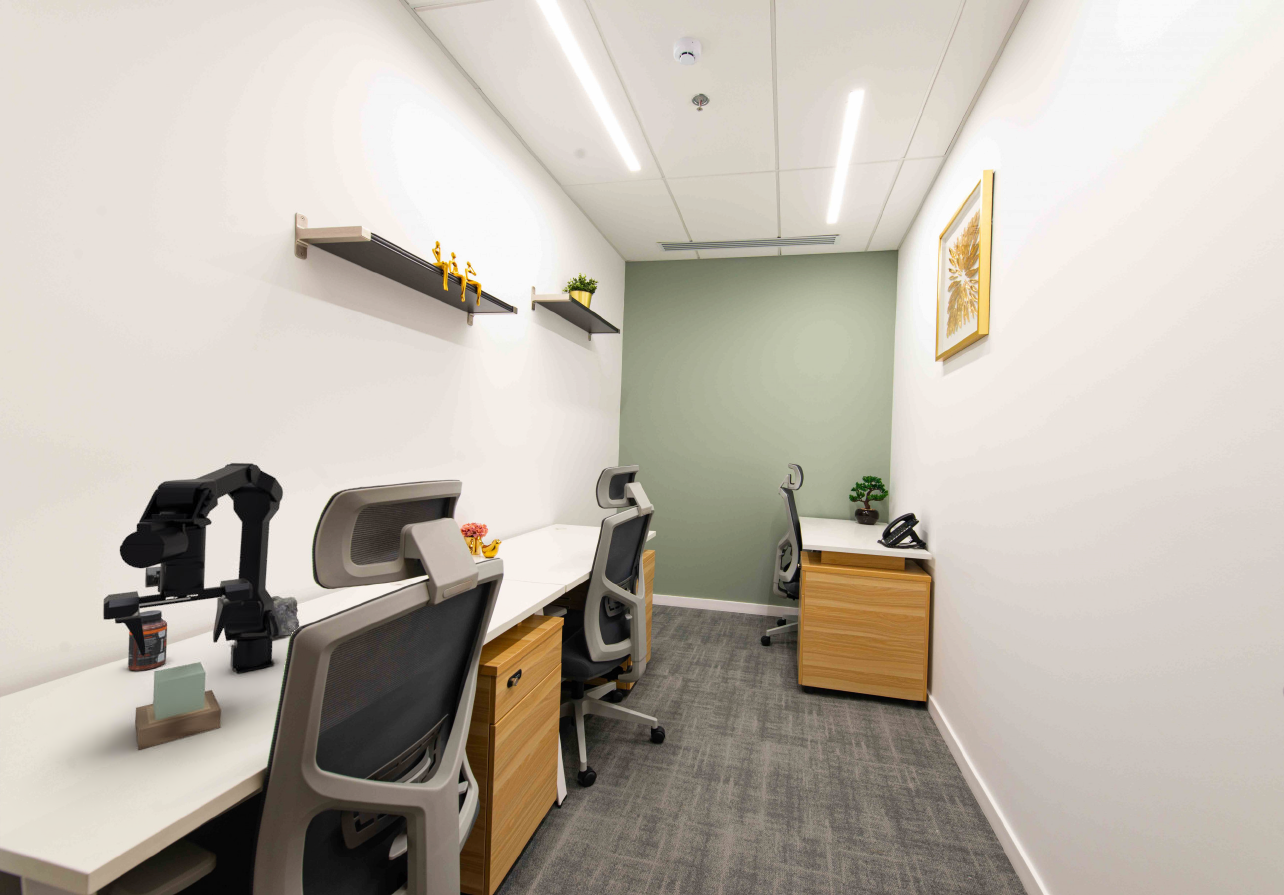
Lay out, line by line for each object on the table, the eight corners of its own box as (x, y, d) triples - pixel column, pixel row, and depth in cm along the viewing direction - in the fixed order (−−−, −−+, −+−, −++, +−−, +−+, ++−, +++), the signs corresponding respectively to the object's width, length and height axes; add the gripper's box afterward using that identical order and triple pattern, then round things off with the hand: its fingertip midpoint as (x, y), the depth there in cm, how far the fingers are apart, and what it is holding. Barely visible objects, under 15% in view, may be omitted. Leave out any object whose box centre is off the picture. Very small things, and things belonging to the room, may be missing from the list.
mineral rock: (229, 648, 125) (230, 604, 125) (241, 633, 134) (242, 593, 135) (294, 641, 130) (295, 599, 130) (301, 627, 140) (302, 589, 140)
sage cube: (199, 696, 94) (200, 661, 94) (204, 708, 90) (205, 672, 90) (153, 707, 90) (154, 671, 90) (155, 720, 85) (157, 682, 86)
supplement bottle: (172, 663, 115) (173, 610, 115) (136, 673, 109) (138, 618, 110) (157, 658, 117) (159, 606, 118) (121, 668, 112) (123, 614, 112)
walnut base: (211, 706, 97) (211, 689, 97) (220, 727, 90) (220, 708, 90) (135, 725, 90) (135, 706, 90) (138, 749, 83) (139, 729, 83)
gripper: (242, 543, 103) (239, 624, 103) (104, 554, 89) (101, 648, 89) (254, 551, 95) (251, 640, 95) (105, 565, 82) (101, 668, 81)
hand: (180, 648), depth 90 cm, fingers open, 9 cm apart
